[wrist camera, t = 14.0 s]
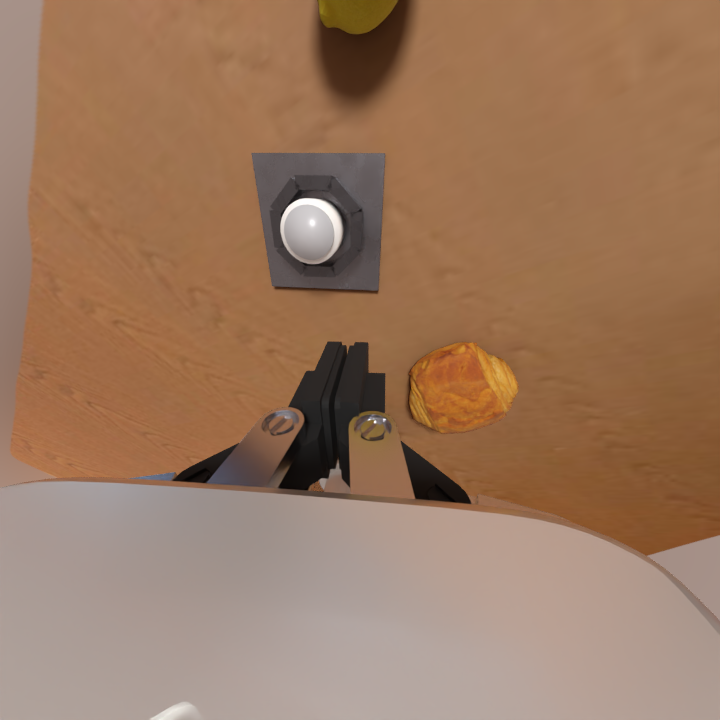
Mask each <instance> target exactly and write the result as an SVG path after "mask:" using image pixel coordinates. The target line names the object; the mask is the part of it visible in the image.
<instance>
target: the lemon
mask: <svg viewBox="0 0 720 720" xmlns="http://www.w3.org/2000/svg"><path fill="white" fill-rule="evenodd" d="M317 1H318V4H319V12H320V19H321V21H322V23H323V24H324V25H325V26H326V27H328V28H331V27H336V28H340V29H342V30H343V31H345V32H347V33H350V34H362V33H367V32H369V31H371V30H372V29H374V28H376V27H377V26H378V25H379V24H380V23H381V22H382V21H383V20H384V19H385V18H386V17H387V16H388V15H389V14H390V13H391V11H392V10H393V8H394V6H395V5H396V3H397V2H398V0H317Z"/></svg>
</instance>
